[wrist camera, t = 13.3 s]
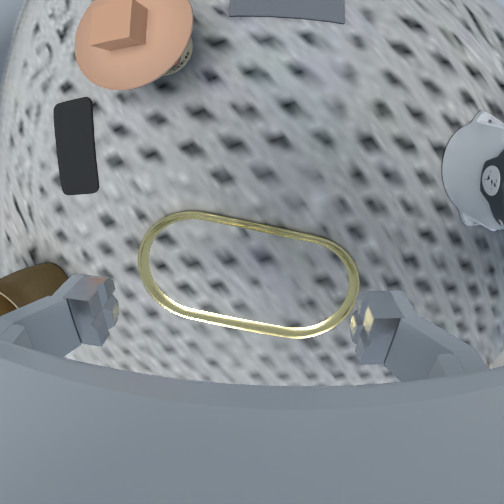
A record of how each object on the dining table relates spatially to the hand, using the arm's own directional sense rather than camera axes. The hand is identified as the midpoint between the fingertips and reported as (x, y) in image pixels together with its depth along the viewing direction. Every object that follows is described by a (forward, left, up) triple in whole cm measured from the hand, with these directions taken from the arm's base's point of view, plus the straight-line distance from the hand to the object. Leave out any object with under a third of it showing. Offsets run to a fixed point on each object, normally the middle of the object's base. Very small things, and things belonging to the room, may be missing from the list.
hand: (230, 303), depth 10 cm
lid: (+13, -15, -22) cm, 30 cm away
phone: (+28, -2, -35) cm, 45 cm away
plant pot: (+38, +22, -34) cm, 56 cm away
